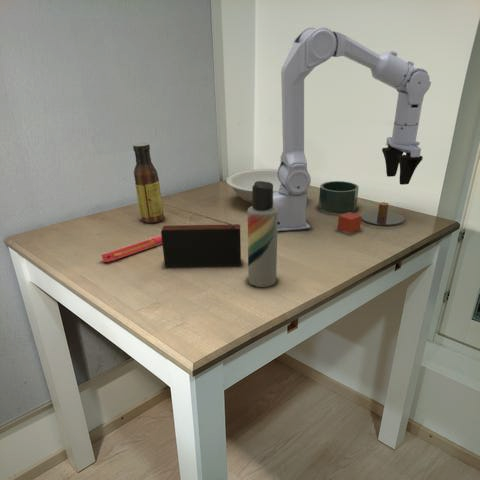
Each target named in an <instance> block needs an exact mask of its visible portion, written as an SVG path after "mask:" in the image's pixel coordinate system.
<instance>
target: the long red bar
mask: <svg viewBox="0 0 480 480" xmlns="http://www.w3.org/2000/svg"><path fill="white" fill-rule="evenodd" d="M159 245H162V236H161V234H158V235H155V236H152V237H149V238H146V239H143V240H140V241H137V242H133V243H131V244H128V245H125V246H122V247H119V248H115V249H113V250H110V251H108V252H107V253H106V252H105V253H103V254H101V255H100V256H101V259H102V261H103V263H109V262H113V261H117V260H119V259H123V258H124V257H128V256H132V255H134V254H137V253H140V252H142V251H145V250H148V249H151V248H154V247H156V246H159Z"/></svg>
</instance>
